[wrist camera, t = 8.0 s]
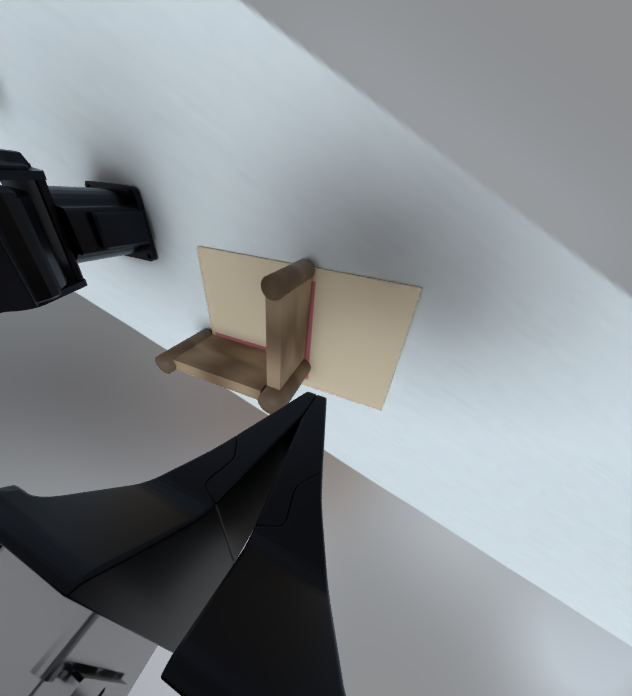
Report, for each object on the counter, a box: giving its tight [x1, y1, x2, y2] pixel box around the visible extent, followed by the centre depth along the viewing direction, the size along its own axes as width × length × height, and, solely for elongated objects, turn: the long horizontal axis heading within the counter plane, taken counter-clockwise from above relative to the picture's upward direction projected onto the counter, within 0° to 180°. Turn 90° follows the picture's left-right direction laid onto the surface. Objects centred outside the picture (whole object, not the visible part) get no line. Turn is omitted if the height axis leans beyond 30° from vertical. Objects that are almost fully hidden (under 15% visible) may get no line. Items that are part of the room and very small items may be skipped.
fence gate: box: [261, 258, 315, 390], centre depth 19 cm, size 9×2×5 cm, turn 174°
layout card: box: [197, 246, 422, 410], centre depth 23 cm, size 20×12×1 cm, turn 86°
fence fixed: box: [155, 329, 311, 414], centre depth 24 cm, size 14×2×6 cm, turn 86°
